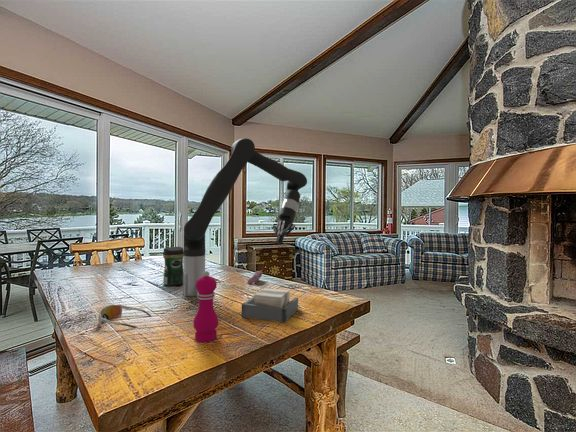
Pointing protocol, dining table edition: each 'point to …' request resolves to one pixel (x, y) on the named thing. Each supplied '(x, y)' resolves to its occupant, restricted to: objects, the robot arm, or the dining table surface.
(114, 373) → the dining table surface
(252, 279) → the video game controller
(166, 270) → the coffee jar
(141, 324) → the dining table surface
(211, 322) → the pepper mill
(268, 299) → the cream block
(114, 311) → the sunglasses
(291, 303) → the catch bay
